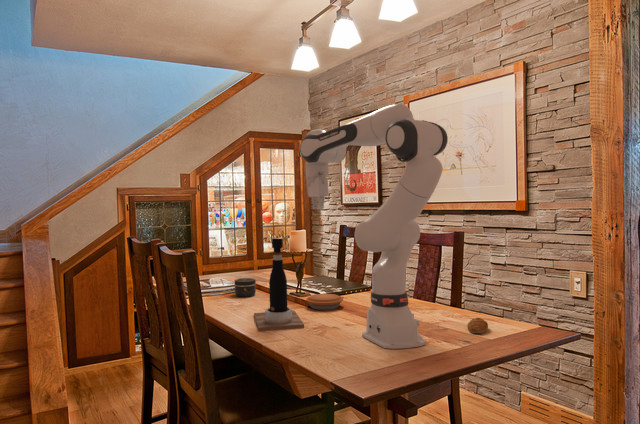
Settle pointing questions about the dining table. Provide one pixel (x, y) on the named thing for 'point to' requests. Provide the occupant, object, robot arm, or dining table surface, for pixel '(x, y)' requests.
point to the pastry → (477, 326)
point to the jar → (245, 287)
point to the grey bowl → (278, 316)
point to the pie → (324, 301)
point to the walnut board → (266, 326)
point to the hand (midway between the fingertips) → (318, 208)
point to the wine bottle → (278, 280)
